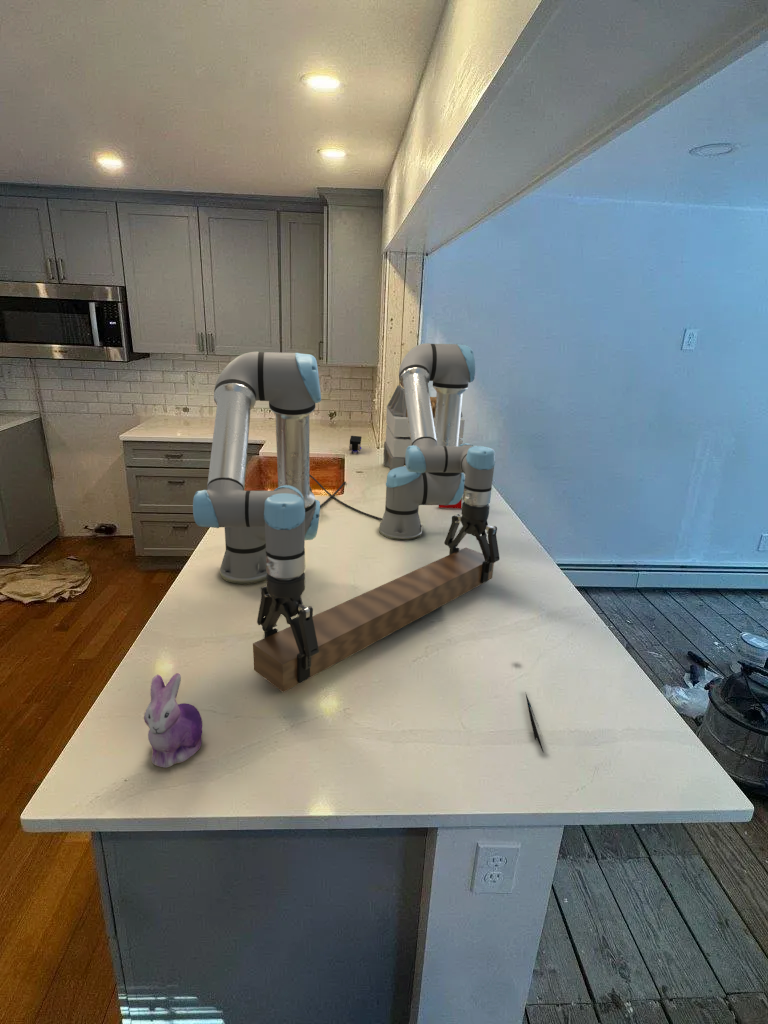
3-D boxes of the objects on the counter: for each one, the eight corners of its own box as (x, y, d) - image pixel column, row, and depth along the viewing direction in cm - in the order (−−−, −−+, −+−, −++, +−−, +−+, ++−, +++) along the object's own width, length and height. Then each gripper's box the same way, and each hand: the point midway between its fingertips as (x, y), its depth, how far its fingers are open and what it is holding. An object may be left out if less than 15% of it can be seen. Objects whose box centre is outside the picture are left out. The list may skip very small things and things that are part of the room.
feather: (517, 669, 129) (522, 662, 128) (543, 757, 102) (550, 750, 102) (511, 665, 129) (516, 659, 128) (535, 752, 102) (542, 745, 101)
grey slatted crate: (382, 463, 289) (386, 382, 275) (445, 464, 293) (451, 384, 279) (390, 482, 257) (394, 392, 243) (460, 483, 261) (468, 394, 247)
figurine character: (361, 457, 304) (361, 447, 317) (361, 444, 301) (362, 434, 314) (348, 456, 304) (349, 447, 317) (348, 443, 300) (349, 434, 314)
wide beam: (463, 567, 171) (465, 547, 169) (492, 578, 165) (494, 557, 162) (253, 670, 119) (252, 643, 117) (283, 692, 112) (282, 664, 110)
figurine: (152, 779, 93) (143, 704, 88) (145, 738, 102) (136, 668, 97) (210, 760, 98) (205, 688, 92) (199, 723, 106) (193, 655, 101)
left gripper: (236, 559, 116) (241, 652, 123) (307, 599, 101) (308, 702, 109) (267, 549, 121) (269, 639, 129) (338, 586, 107) (337, 685, 114)
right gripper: (435, 495, 161) (429, 566, 169) (504, 517, 147) (494, 593, 154) (451, 490, 166) (445, 559, 174) (519, 510, 152) (509, 584, 160)
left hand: (287, 668), depth 119 cm, fingers closed on wide beam, 10 cm apart
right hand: (468, 575), depth 164 cm, fingers closed on wide beam, 10 cm apart
